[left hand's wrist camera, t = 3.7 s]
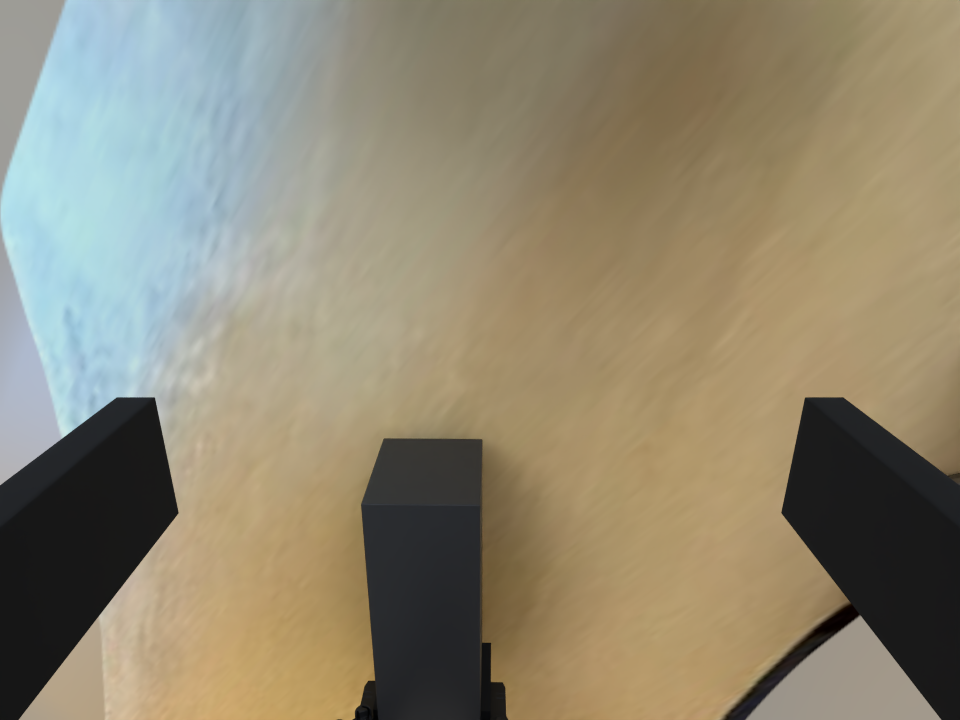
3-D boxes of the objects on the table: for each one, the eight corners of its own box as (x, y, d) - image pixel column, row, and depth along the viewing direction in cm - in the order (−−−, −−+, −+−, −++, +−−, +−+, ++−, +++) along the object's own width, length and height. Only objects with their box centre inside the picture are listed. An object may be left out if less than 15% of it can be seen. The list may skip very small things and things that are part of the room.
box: (383, 438, 46) (360, 503, 38) (482, 438, 46) (480, 505, 38) (398, 685, 55) (383, 781, 47) (482, 686, 55) (480, 783, 47)
